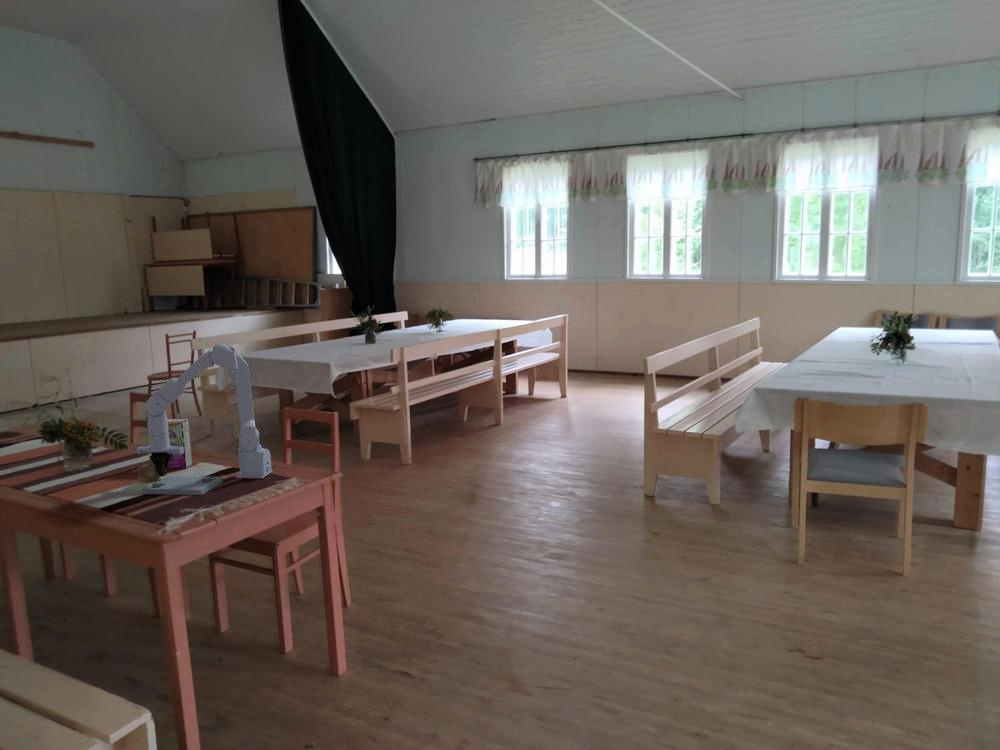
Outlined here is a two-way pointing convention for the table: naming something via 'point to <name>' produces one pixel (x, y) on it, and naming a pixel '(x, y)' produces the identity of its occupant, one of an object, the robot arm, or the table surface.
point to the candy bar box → (179, 443)
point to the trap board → (175, 485)
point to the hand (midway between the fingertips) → (162, 475)
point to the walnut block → (148, 473)
